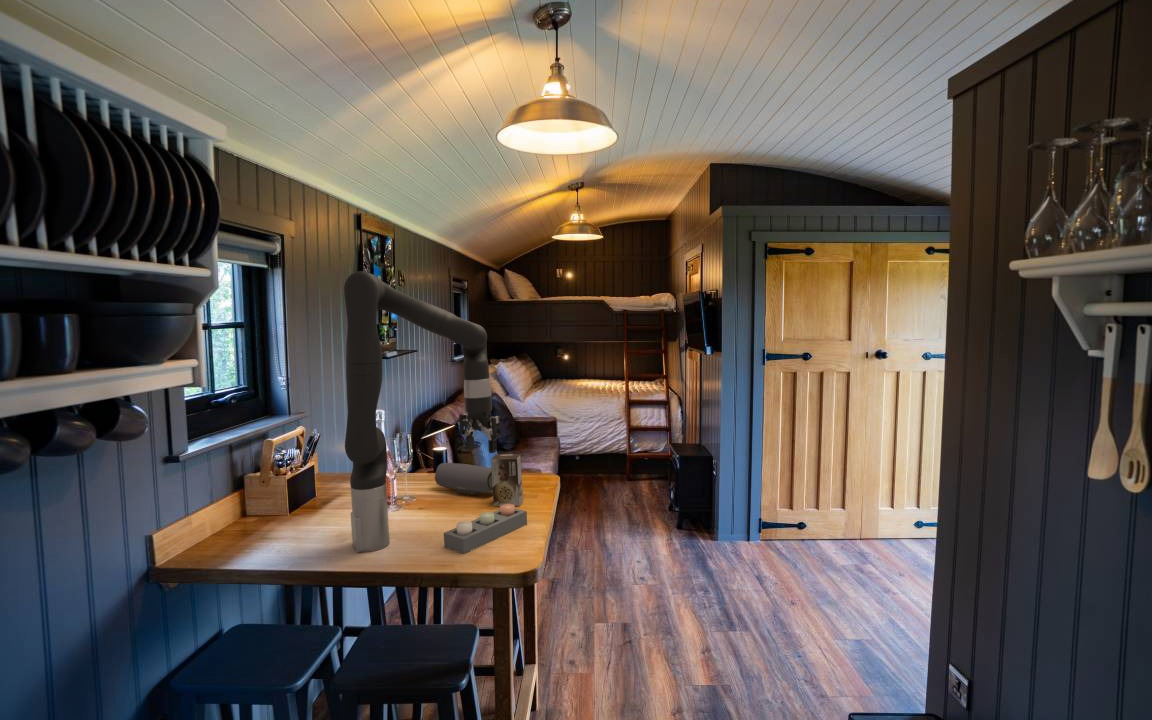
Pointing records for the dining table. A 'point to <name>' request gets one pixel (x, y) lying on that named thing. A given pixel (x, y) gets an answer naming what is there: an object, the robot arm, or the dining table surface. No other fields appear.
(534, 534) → the dining table surface
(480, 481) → the bluetooth speaker
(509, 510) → the terracotta button
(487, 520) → the sage button
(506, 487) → the coffee box
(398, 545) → the dining table surface
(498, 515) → the button panel
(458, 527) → the cream button
